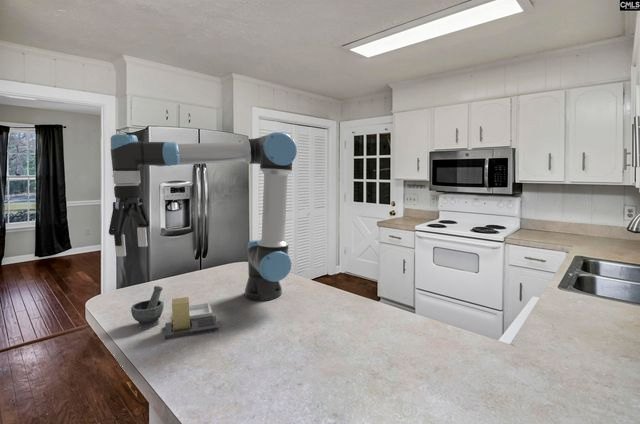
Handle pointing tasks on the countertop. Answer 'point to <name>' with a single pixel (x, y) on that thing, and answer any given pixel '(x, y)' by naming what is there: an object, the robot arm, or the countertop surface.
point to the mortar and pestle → (148, 310)
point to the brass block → (180, 314)
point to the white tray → (200, 310)
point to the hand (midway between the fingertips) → (132, 251)
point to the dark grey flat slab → (193, 327)
